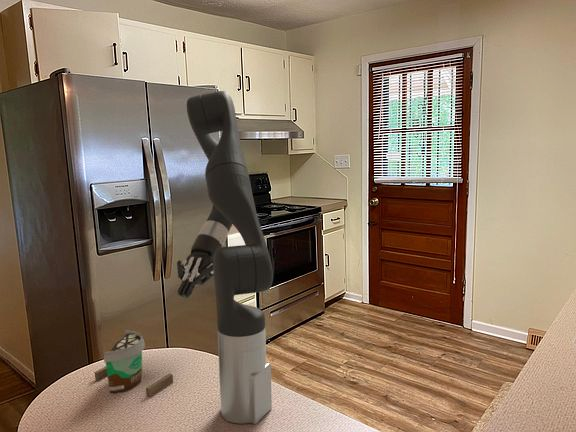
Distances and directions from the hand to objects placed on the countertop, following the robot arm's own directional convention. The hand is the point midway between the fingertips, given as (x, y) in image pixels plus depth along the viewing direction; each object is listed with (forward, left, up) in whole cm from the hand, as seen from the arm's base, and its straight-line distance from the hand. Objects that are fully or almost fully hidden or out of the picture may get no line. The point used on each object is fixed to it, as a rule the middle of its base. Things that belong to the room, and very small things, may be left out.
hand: (182, 296), depth 113 cm
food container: (0, +18, -15) cm, 23 cm away
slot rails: (0, +17, -15) cm, 23 cm away
